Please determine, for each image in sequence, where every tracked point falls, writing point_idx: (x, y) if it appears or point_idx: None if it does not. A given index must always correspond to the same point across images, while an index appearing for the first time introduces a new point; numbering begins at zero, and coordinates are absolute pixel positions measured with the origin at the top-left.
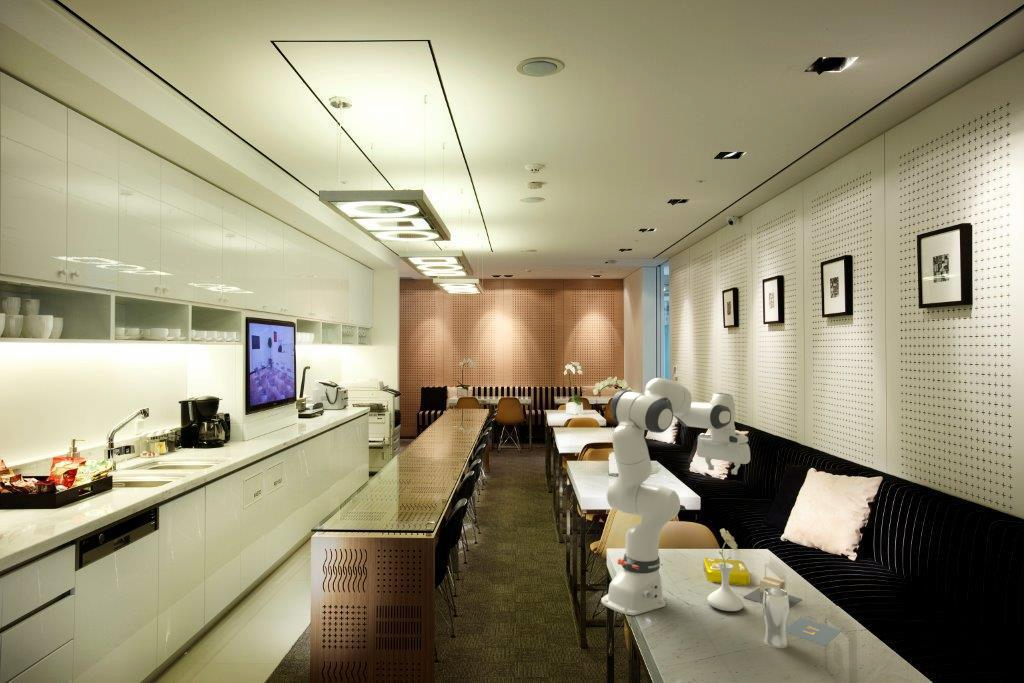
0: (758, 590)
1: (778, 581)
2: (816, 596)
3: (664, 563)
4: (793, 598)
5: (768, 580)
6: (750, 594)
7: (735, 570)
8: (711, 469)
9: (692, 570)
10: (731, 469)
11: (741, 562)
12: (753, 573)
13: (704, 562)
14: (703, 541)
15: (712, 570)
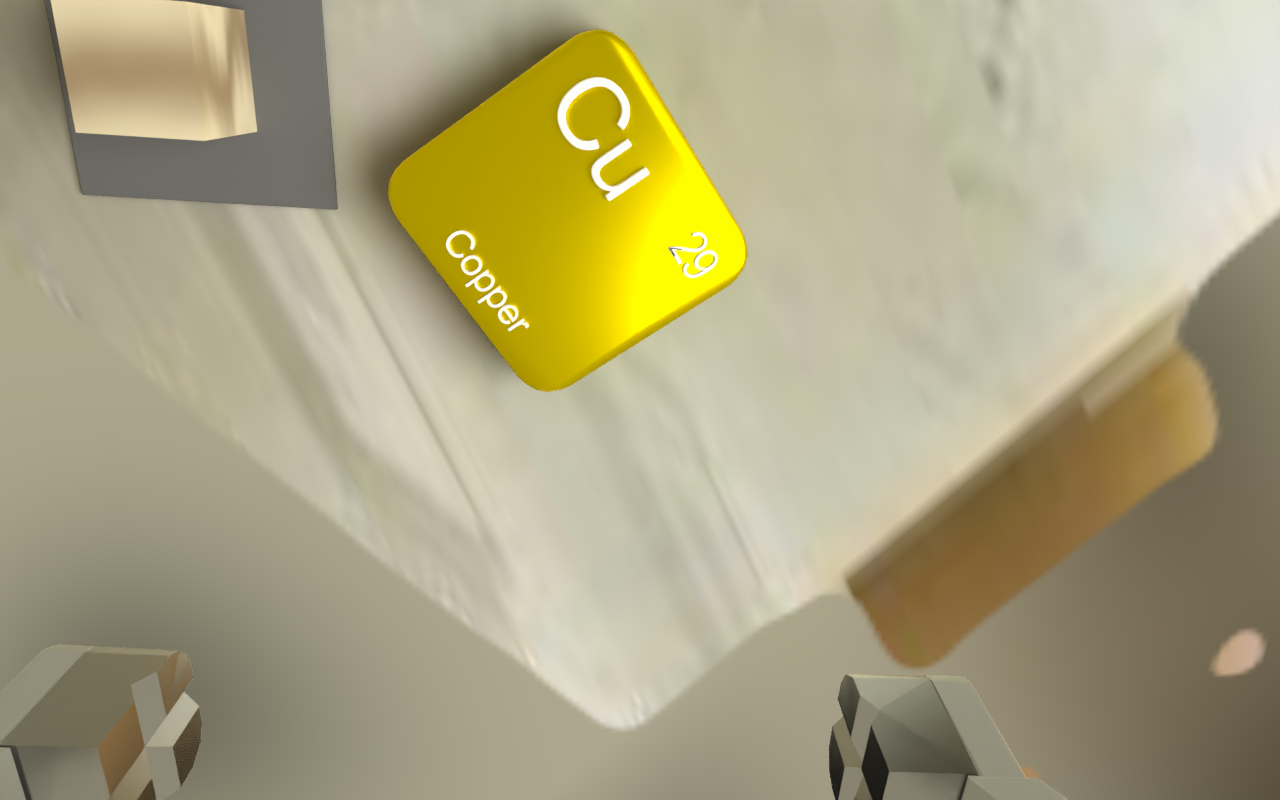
0: (311, 121)
1: (92, 79)
2: (73, 311)
3: (983, 114)
4: (116, 163)
5: (145, 41)
6: (307, 11)
7: (482, 187)
8: (858, 681)
9: (778, 141)
10: (95, 746)
11: (527, 363)
12: (480, 384)
13: (715, 187)
14: (923, 651)
15: (594, 58)
